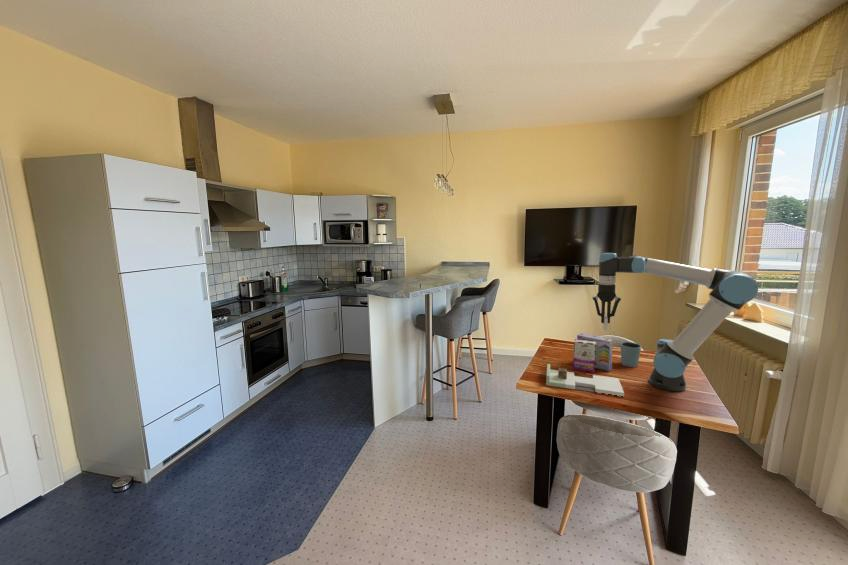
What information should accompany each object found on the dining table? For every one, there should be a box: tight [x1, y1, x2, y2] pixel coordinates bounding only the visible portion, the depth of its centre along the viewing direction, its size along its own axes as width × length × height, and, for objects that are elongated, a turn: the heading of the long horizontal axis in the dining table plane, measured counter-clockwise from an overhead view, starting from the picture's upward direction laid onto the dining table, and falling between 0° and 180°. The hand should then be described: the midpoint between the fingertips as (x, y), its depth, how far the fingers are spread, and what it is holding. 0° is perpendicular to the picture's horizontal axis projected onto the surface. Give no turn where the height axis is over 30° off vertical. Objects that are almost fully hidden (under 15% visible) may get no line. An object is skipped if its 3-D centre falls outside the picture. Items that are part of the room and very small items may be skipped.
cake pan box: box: [576, 332, 614, 372], centre depth 194 cm, size 19×5×18 cm, turn 42°
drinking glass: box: [620, 341, 642, 368], centre depth 197 cm, size 10×10×12 cm
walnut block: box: [558, 367, 568, 379], centre depth 176 cm, size 4×4×4 cm
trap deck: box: [545, 363, 625, 398], centre depth 173 cm, size 34×16×5 cm, turn 69°
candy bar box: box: [572, 338, 596, 373], centre depth 190 cm, size 11×5×16 cm, turn 62°
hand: (605, 329), depth 174 cm, fingers closed
